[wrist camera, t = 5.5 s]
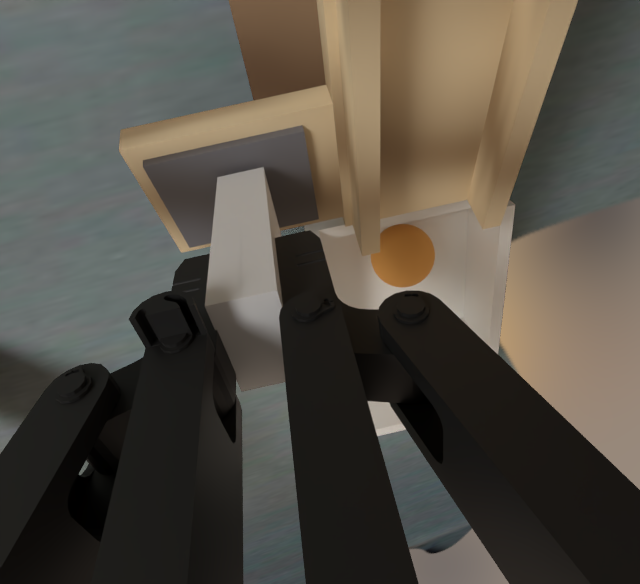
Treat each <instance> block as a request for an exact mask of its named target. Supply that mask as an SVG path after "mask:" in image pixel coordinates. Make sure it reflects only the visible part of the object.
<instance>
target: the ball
mask: <svg viewBox="0 0 640 584" xmlns="http://www.w3.org/2000/svg"><path fill="white" fill-rule="evenodd" d="M434 260H435V250H434V246H433V243H432V241H431V239H430V238H429V236H428V235H427V234H426V233H425V232H424V231H423V230H421V229H420V228H418V227H416V226H413V225H409V224H398V225H394V226H391V227H389V228H387V229H385V230H384V231H383V232H381V233H380V252H379V253H375V254H371V263H372V267H373V269H374V271H375V273H376V274H377V275H378V277H379V278H380V279H381V280H382V281H384V282H385V283H387V284H389V285H391V286H395V287H410V286H414V285H416V284H418V283H420V282H421V281H422V280H424V279H425V278H426V277H427V276H428V274H429V273H430V271H431V270H432V267H433V265H434Z"/></svg>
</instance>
